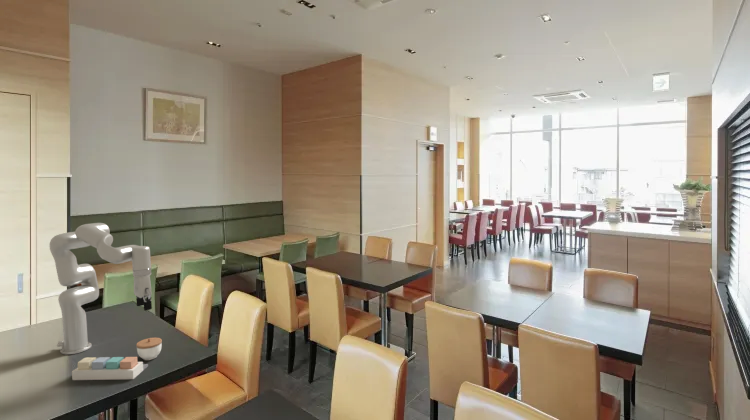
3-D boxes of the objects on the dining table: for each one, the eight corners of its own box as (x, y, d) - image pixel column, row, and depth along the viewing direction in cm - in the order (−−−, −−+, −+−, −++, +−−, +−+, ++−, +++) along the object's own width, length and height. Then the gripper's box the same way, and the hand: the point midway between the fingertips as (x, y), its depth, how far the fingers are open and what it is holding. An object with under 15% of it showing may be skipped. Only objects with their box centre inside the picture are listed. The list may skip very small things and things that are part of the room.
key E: (78, 373, 170) (77, 362, 170) (85, 368, 175) (85, 357, 175) (89, 373, 171) (88, 362, 170) (96, 368, 175) (96, 357, 175)
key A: (120, 372, 171) (119, 361, 171) (126, 367, 176) (126, 356, 175) (131, 372, 171) (131, 361, 171) (137, 367, 176) (137, 356, 176)
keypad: (72, 380, 169) (71, 371, 169) (91, 366, 181) (90, 358, 180) (133, 379, 170) (132, 370, 170) (148, 366, 182) (147, 357, 181)
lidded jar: (144, 364, 183) (143, 345, 182) (132, 358, 189) (131, 340, 188) (167, 355, 192) (166, 337, 192) (155, 350, 198) (154, 332, 197)
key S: (92, 373, 171) (91, 362, 170) (99, 368, 175) (99, 357, 175) (103, 373, 171) (102, 362, 170) (110, 367, 176) (109, 357, 175)
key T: (106, 373, 171) (105, 362, 170) (113, 367, 176) (112, 357, 175) (117, 373, 171) (117, 362, 171) (124, 367, 176) (123, 356, 175)
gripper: (127, 271, 188) (129, 305, 189) (139, 276, 177) (141, 313, 178) (144, 268, 194) (146, 302, 195) (157, 273, 182) (159, 309, 184)
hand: (144, 307), depth 187 cm, fingers open, 9 cm apart
